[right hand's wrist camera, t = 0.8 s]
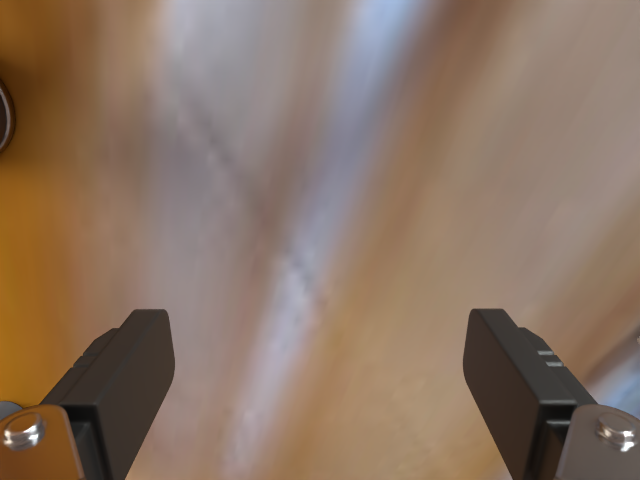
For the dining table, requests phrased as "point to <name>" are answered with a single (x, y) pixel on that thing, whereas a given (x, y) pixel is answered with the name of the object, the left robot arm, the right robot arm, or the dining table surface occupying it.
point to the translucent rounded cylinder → (8, 408)
